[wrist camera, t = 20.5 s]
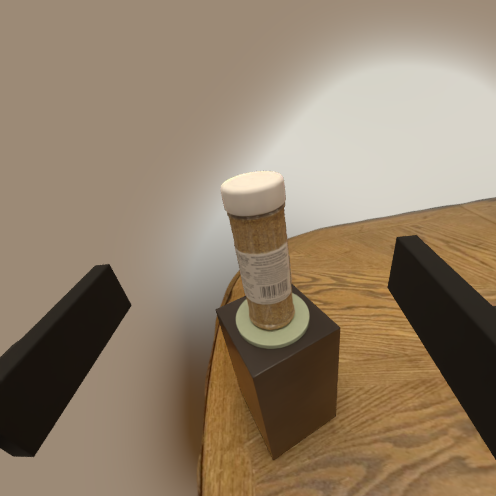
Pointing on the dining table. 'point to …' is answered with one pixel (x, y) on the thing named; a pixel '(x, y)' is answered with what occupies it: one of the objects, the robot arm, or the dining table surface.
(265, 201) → the sprinkles bottle
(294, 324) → the coaster
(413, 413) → the dining table surface
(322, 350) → the riser
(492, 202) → the dining table surface
